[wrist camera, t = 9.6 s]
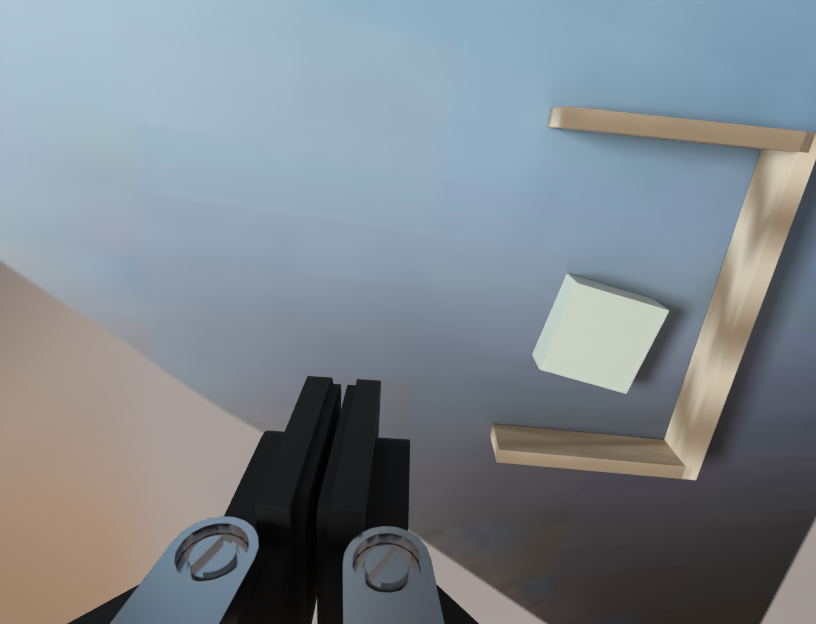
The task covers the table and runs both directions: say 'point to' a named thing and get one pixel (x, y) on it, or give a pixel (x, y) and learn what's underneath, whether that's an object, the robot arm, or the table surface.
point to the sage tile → (598, 333)
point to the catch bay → (727, 313)
